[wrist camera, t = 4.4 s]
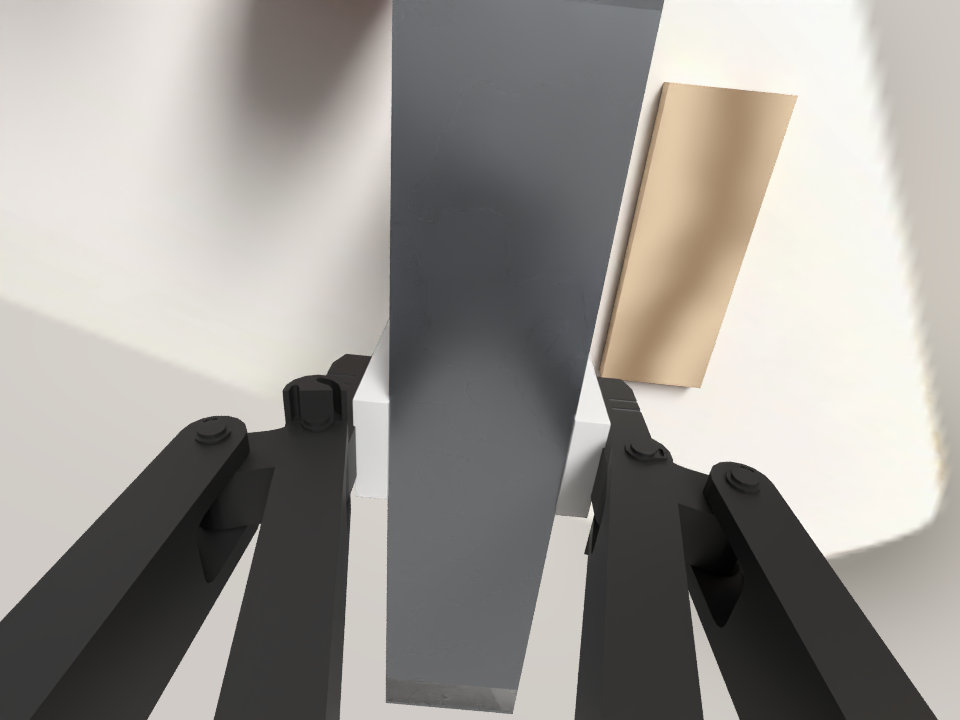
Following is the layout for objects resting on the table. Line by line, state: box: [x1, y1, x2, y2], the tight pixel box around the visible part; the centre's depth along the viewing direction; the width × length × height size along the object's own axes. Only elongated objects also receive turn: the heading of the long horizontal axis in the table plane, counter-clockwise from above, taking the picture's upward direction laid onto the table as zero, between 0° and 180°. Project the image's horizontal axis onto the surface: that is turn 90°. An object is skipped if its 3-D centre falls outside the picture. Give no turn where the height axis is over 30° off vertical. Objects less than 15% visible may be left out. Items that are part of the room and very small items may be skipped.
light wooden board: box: [600, 82, 798, 388], centre depth 29 cm, size 6×16×1 cm, turn 175°
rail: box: [386, 0, 664, 714], centre depth 14 cm, size 4×20×4 cm, turn 175°
